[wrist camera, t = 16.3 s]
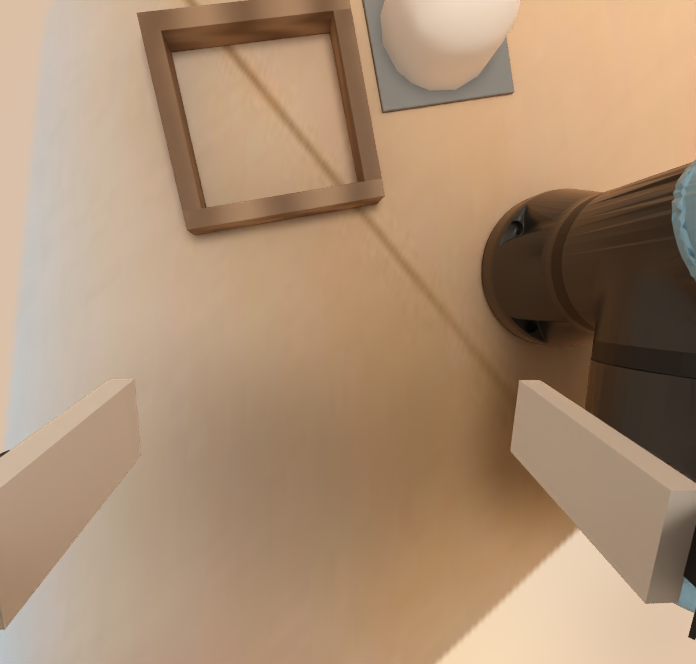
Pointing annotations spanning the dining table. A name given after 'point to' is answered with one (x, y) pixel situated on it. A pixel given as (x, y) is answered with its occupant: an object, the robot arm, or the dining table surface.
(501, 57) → the grey mat
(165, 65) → the walnut collar
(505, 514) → the dining table surface
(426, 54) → the teardrop
